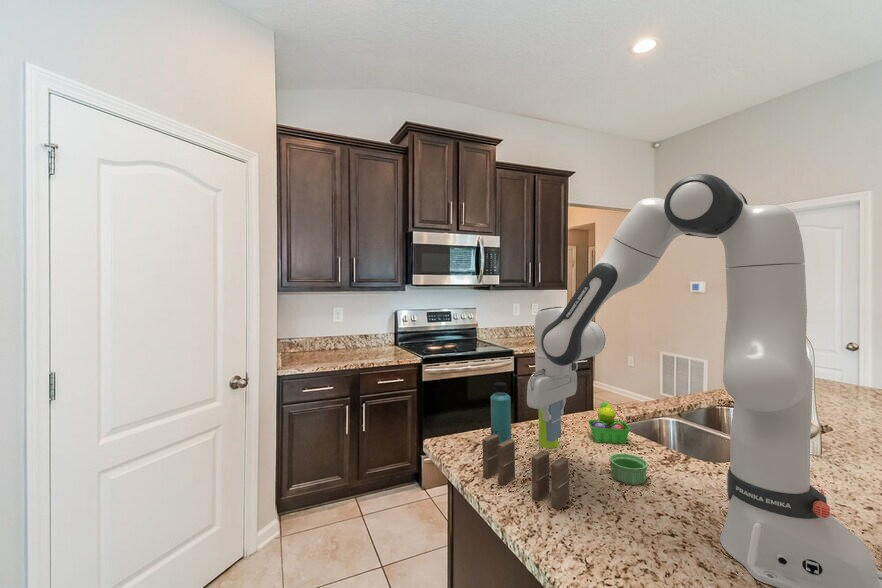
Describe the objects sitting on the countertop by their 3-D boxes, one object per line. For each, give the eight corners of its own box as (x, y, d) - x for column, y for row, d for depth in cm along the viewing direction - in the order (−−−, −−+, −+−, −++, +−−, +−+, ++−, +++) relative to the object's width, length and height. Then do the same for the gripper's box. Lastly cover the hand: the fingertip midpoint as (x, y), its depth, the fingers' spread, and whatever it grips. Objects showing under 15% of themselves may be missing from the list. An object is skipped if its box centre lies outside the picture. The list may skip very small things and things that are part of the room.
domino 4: (561, 436, 105) (560, 400, 105) (551, 442, 101) (550, 404, 101) (555, 435, 106) (554, 399, 106) (546, 440, 102) (545, 403, 102)
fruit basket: (591, 443, 121) (591, 407, 121) (587, 433, 129) (587, 399, 129) (630, 446, 118) (630, 409, 118) (623, 435, 127) (623, 401, 127)
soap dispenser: (562, 449, 117) (562, 384, 116) (539, 447, 118) (538, 383, 118) (560, 441, 122) (560, 379, 122) (538, 440, 124) (537, 378, 123)
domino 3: (549, 493, 92) (549, 452, 92) (538, 501, 88) (537, 458, 88) (543, 491, 93) (543, 450, 93) (532, 499, 90) (531, 456, 89)
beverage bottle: (515, 445, 120) (514, 381, 120) (506, 453, 115) (506, 386, 114) (496, 441, 124) (495, 379, 123) (487, 448, 118) (486, 384, 118)
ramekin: (604, 478, 99) (604, 461, 99) (616, 465, 106) (616, 450, 106) (641, 490, 93) (641, 472, 93) (652, 476, 100) (652, 459, 99)
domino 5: (568, 501, 88) (568, 458, 88) (557, 510, 85) (557, 466, 85) (562, 499, 89) (562, 456, 89) (551, 507, 86) (550, 463, 86)
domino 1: (499, 472, 103) (499, 435, 103) (487, 479, 99) (487, 440, 99) (494, 470, 104) (494, 433, 104) (482, 476, 100) (482, 439, 100)
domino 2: (515, 478, 99) (514, 440, 99) (503, 486, 96) (502, 446, 95) (509, 476, 100) (509, 438, 100) (498, 483, 97) (497, 444, 97)
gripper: (541, 374, 94) (542, 430, 94) (580, 362, 108) (581, 411, 108) (519, 371, 99) (521, 424, 99) (560, 360, 113) (561, 407, 113)
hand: (553, 417), depth 103 cm, fingers closed on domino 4, 5 cm apart
